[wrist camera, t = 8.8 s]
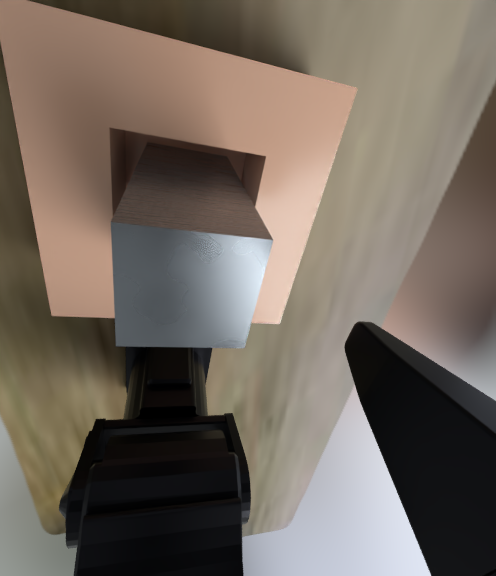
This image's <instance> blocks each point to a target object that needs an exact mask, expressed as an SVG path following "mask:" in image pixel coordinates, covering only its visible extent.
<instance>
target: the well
mask: <svg viewBox="0 0 496 576" xmlns="http://www.w3.org/2000/svg"><path fill="white" fill-rule="evenodd" d="M0 42H1V47H2V53H3V58H4V63H5V69H6V74H7V80H8V85H9V90H10V96H11V101H12V106H13V112H14V117H15V122H16V128H17V133H18V138H19V144H20V149H21V155H22V160H23V165H24V171H25V176H26V181H27V187H28V192H29V197H30V203H31V208H32V214H33V219H34V224H35V230H36V235H37V240H38V246H39V251H40V256H41V262H42V267H43V272H44V278H45V283H46V289H47V294H48V299H49V305H50V310H51V315H52V316H68V317H96V318H115V312H114V288H113V265H112V242H111V220H112V218H113V216H114V214H115V211H116V209H117V207H118V205H119V203H120V201H121V198H122V196H123V194H124V192H125V190H126V188H127V185H128V183H129V181H130V179H131V177H132V175H133V172H134V170H135V168H136V166H137V164H138V161H139V159H140V157H141V155H142V153H143V151H144V148H145V146H146V144H147V142H150V143H155V144H161V145H167V146H172V147H178V148H183V149H189V150H195V151H200V152H206V153H211V154H217V155H222V156H227V157H228V159H229V161H230V163H231V164H232V166H233V168H234V170H235V172H236V173H237V175H238V177H239V179H240V181H241V182H242V184H243V186H244V188H245V190H246V191H247V193H248V195H249V197H250V199H251V201H252V202H253V204H254V206H255V208H256V210H257V211H258V213H259V215H260V217H261V219H262V220H263V222H264V224H265V226H266V228H267V229H268V231H269V233H270V235H271V237H272V238H273V244H272V247H271V251H270V255H269V258H268V262H267V266H266V270H265V273H264V277H263V281H262V285H261V288H260V292H259V296H258V299H257V303H256V307H255V311H254V314H253V318H252V322H251V323H264V324H280V321H281V318H282V315H283V312H284V309H285V306H286V303H287V300H288V297H289V294H290V291H291V288H292V285H293V282H294V279H295V276H296V273H297V270H298V267H299V264H300V261H301V258H302V255H303V252H304V249H305V246H306V243H307V240H308V236H309V233H310V230H311V227H312V224H313V221H314V218H315V215H316V212H317V209H318V206H319V203H320V200H321V197H322V194H323V191H324V188H325V185H326V182H327V179H328V176H329V173H330V170H331V167H332V164H333V161H334V158H335V155H336V152H337V149H338V146H339V143H340V140H341V137H342V134H343V131H344V128H345V125H346V122H347V119H348V116H349V113H350V110H351V107H352V104H353V101H354V98H355V95H356V92H357V89H358V88H355V87H352V86H348V85H344V84H340V83H337V82H333V81H329V80H325V79H321V78H318V77H314V76H310V75H306V74H303V73H299V72H295V71H291V70H288V69H284V68H280V67H276V66H273V65H269V64H265V63H261V62H258V61H254V60H250V59H246V58H243V57H239V56H235V55H231V54H227V53H224V52H220V51H216V50H212V49H209V48H205V47H201V46H197V45H194V44H190V43H186V42H182V41H179V40H175V39H171V38H167V37H164V36H160V35H156V34H152V33H148V32H145V31H141V30H137V29H133V28H130V27H126V26H122V25H118V24H115V23H111V22H107V21H103V20H100V19H96V18H92V17H88V16H85V15H81V14H77V13H73V12H69V11H66V10H62V9H58V8H54V7H51V6H47V5H43V4H39V3H36V2H32V1H28V0H0Z"/></svg>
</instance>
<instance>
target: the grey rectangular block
mask: <svg viewBox="0 0 496 576" xmlns="http://www.w3.org/2000/svg"><path fill="white" fill-rule="evenodd" d="M111 242H112V265H113V288H114V312H115V335H116V346H129V347H198V348H245V344H246V340H247V337H248V333H249V329H250V325H251V322H252V318H253V314H254V311H255V307H256V303H257V299H258V296H259V292H260V288H261V285H262V281H263V277H264V273H265V270H266V266H267V262H268V258H269V255H270V251H271V247H272V244H273V238H272V237H271V235H270V233H269V231H268V229H267V228H266V226H265V224H264V222H263V220H262V219H261V217H260V215H259V213H258V211H257V210H256V208H255V206H254V204H253V202H252V201H251V199H250V197H249V195H248V193H247V191H246V190H245V188H244V186H243V184H242V182H241V181H240V179H239V177H238V175H237V173H236V172H235V170H234V168H233V166H232V164H231V163H230V161H229V159H228V157H227V156H222V155H217V154H211V153H206V152H200V151H195V150H189V149H183V148H178V147H172V146H167V145H161V144H155V143H150V142H147V144H146V146H145V148H144V151H143V153H142V155H141V157H140V159H139V161H138V164H137V166H136V168H135V170H134V172H133V175H132V177H131V179H130V181H129V183H128V185H127V188H126V190H125V192H124V194H123V196H122V198H121V201H120V203H119V205H118V207H117V209H116V211H115V214H114V216H113V218H112V220H111Z"/></svg>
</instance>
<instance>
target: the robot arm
mask: <svg viewBox="0 0 496 576" xmlns="http://www.w3.org/2000/svg"><path fill="white" fill-rule="evenodd" d="M211 353H212V348H198V347H129V346H126V386H127V400H126V406H125V412H124V418H123V419H119V420H106V419H96V421H95V423H94V426H93V429H92V431H89V434H88V436H87V437H86V440H85V444H84V448H83V451H82V453H81V456H80V459H79V462H78V464H77V467H76V470H75V473H74V475H73V477H72V478H71V480H70V482H69V484H68V486H67V488H66V490H65V492H64V494H63V496H62V498H61V500H60V505H59V511H60V512H61V514H62V515H63V516H64V517H65V519H66V545H67V547H68V548H76V547H77V553H76V561H75V569H74V576H243V562H242V524H246V523H247V522H248V519H249V514H250V504H251V490H250V478H249V470H248V464H247V460H246V457H245V453H244V450H243V447H242V443H241V440H240V436H239V433H238V430H237V426H236V423H235V420H234V416H233V413H226V414H224V415H211V416H208V412H207V399H206V387H205V384H206V379H207V374H208V368H209V363H210V358H211ZM345 353H346V356H347V360H348V363H349V366H350V370H351V373H352V376H353V380H354V383H355V386H356V390H357V393H358V396H359V399H360V402H361V405H362V407H363V410H364V412H365V415H366V417H367V420H368V422H369V424H370V427H371V429H372V432H373V434H374V437H375V439H376V442H377V444H378V446H379V449H380V451H381V454H382V456H383V459H384V461H385V463H386V466H387V468H388V471H389V473H390V476H391V478H392V480H393V483H394V485H395V488H396V490H397V493H398V495H399V497H400V500H401V503H402V505H403V507H404V510H405V512H406V515H407V517H408V519H409V522H410V525H411V527H412V529H413V532H414V534H415V537H416V539H417V541H418V544H419V546H420V549H421V551H422V554H423V556H424V558H425V561H426V563H427V566H428V568H429V571H430V573H431V576H496V401H495V400H493V399H492V398H490V397H488V396H487V395H485V394H484V393H482V392H481V391H479V390H478V389H476V388H474V387H473V386H471V385H470V384H468V383H467V382H465V381H463V380H462V379H460V378H459V377H457V376H456V375H454V374H452V373H451V372H449V371H448V370H446V369H445V368H443V367H441V366H440V365H438V364H437V363H435V362H434V361H432V360H430V359H429V358H427V357H426V356H424V355H423V354H421V353H419V352H418V351H416V350H415V349H413V348H412V347H410V346H408V345H407V344H405V343H404V342H402V341H401V340H399V339H397V338H396V337H394V336H393V335H391V334H389V333H388V332H386V331H385V330H383V329H382V328H380V327H379V326H377V325H375V324H374V323H372V322H357V323H356V324H355V325H354V326H353V328H352V330H351V332H350V334H349V336H348V338H347V340H346V342H345Z"/></svg>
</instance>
